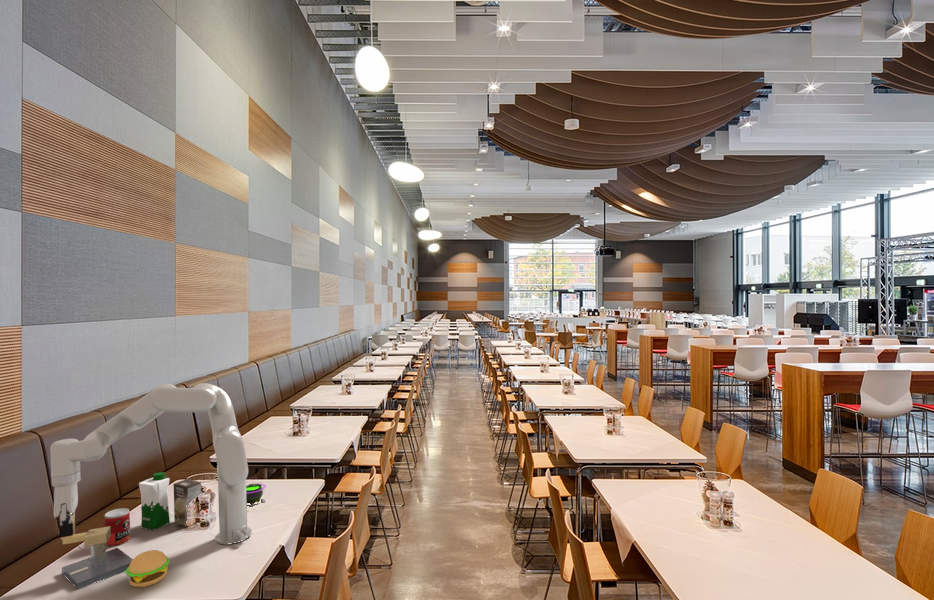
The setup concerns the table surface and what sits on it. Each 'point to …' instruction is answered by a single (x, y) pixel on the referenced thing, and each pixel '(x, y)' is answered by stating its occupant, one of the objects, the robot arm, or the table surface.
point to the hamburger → (147, 568)
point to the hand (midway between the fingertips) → (68, 533)
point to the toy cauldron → (254, 493)
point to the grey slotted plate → (97, 566)
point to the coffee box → (184, 498)
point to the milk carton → (154, 501)
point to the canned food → (118, 526)
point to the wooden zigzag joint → (88, 535)
